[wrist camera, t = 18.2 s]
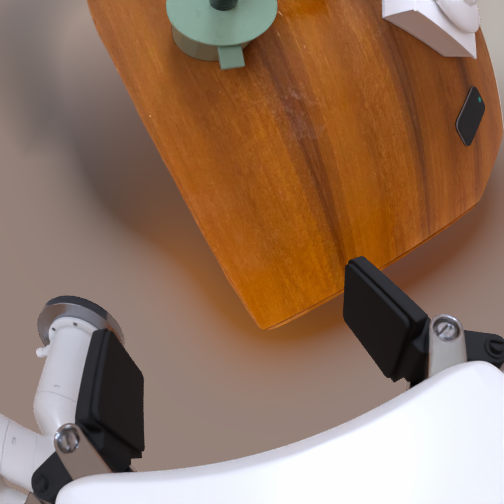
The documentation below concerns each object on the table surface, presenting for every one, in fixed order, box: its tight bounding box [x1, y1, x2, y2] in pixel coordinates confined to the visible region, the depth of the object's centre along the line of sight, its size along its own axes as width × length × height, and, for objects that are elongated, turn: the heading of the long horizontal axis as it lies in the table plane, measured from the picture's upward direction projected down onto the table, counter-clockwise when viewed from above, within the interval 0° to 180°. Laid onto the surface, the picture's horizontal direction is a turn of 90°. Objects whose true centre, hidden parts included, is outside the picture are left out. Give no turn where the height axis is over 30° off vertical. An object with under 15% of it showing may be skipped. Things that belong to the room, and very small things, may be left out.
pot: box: [171, 24, 250, 71], centre depth 22 cm, size 10×16×8 cm, turn 11°
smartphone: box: [456, 86, 485, 146], centre depth 39 cm, size 8×1×15 cm
